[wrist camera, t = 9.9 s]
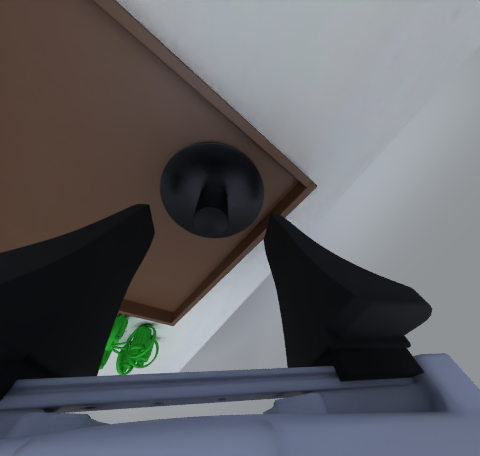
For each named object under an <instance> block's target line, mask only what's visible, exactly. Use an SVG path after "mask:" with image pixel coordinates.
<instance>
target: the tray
mask: <svg viewBox="0 0 480 456" xmlns="http://www.w3.org/2000/svg"><path fill="white" fill-rule="evenodd" d="M205 141H214V142H221V143H225V144H228V145H231V146H233V147H235V148H237V149H239V150H240V151H242V152H243V153H244V154H246V155H247V156H248V157H249V158H250V159H251V161H252V162H253V163H254V164H255V166H256V167H257V169H258V171H259V173H260V175H261V178H262V181H263V185H264V201H263V205H262V208H261V210H260V213H259V214H258V216H257V218H256V219H255V220H254V222H253V223H252V224H251V225H250V226H249V227H247V228H246V229H245V230H243V231H241V232H240V233H237V234H235V235H232V236H229V237H224V238H206V237H201V236H198V235H195V234H192V233H190V232H188V231H186V230H185V229H183V228H182V227H180V226H179V225H178V224H177V223H176V222H174V220H173V219H172V218H171V217H170V216H169V214H168V213H167V211H166V209H165V207H164V205H163V202H162V199H161V195H160V180H161V175H162V172H163V170H164V168H165V166H166V164H167V163H168V161H169V160H170V159H171V158H172V157H173V156H174V155H175V154H176V153H177V152H178V151H180V150H181V149H183V148H184V147H186V146H189V145H191V144H194V143H198V142H205ZM316 187H317V185H316V184H315V183H314V182H313V181H312V180H311V179H310V178H308V177H307V176H306V175H305V174H304V173H303V172H302V171H301V170H300V169H299V168H298V167H296V166H295V165H294V164H293V163H292V162H291V161H290V160H289V159H288V158H287V157H286V156H284V155H283V154H282V153H281V152H280V151H279V150H278V149H277V148H276V147H275V146H274V145H273V144H271V143H270V142H269V141H268V140H267V139H266V138H265V137H264V136H263V135H262V134H261V133H259V132H258V131H257V130H256V129H255V128H254V127H253V126H252V125H251V124H250V123H249V122H247V121H246V120H245V119H244V118H243V117H242V116H241V115H240V114H239V113H238V112H237V111H235V110H234V109H233V108H232V107H231V106H230V105H229V104H228V103H227V102H226V101H225V100H223V99H222V98H221V97H220V96H219V95H218V94H217V93H216V92H215V91H214V90H213V89H211V88H210V87H209V86H208V85H207V84H206V83H205V82H204V81H203V80H202V79H201V78H199V77H198V76H197V75H196V74H195V73H194V72H193V71H192V70H191V69H190V68H189V67H187V66H186V65H185V64H184V63H183V62H182V61H181V60H180V59H179V58H178V57H177V56H175V55H174V54H173V53H172V52H171V51H170V50H169V49H168V48H167V47H166V46H165V45H164V44H162V43H161V42H160V41H159V40H158V39H157V38H156V37H155V36H154V35H153V34H152V33H150V32H149V31H148V30H147V29H146V28H145V27H144V26H143V25H142V24H141V23H140V22H138V21H137V20H136V19H135V18H134V17H133V16H132V15H131V14H130V13H129V12H128V11H126V10H125V9H124V8H123V7H122V6H121V5H120V4H119V3H118V2H117V1H116V0H0V253H1V252H5V251H9V250H13V249H17V248H20V247H24V246H27V245H31V244H34V243H38V242H41V241H45V240H48V239H52V238H55V237H58V236H61V235H64V234H66V233H69V232H72V231H75V230H78V229H80V228H83V227H85V226H87V225H90V224H92V223H95V222H97V221H99V220H102V219H104V218H106V217H108V216H111V215H113V214H115V213H117V212H119V211H122V210H124V209H126V208H128V207H130V206H133V205H136V204H149V205H150V210H151V215H152V220H153V224H154V229H155V235H154V238H153V241H152V243H151V246H150V248H149V250H148V252H147V254H146V256H145V257H144V259H143V261H142V263H141V265H140V266H139V268H138V270H137V272H136V274H135V275H134V277H133V279H132V281H131V283H130V285H129V287H128V290H127V292H126V294H125V297H124V299H123V302H122V304H121V307H120V309H119V312H118V313H120V314H125V315H129V316H133V317H137V318H141V319H145V320H150V321H154V322H158V323H162V324H166V325H171V326H174V325H175V324H176V323H177V322H178V321H179V320H180V319H181V318H182V317H183V316H184V315H185V314H186V313H187V312H188V311H189V310H190V309H191V308H192V307H193V306H195V305H196V304H197V303H198V302H199V301H200V300H201V299H202V298H203V297H204V296H205V295H206V294H207V293H208V292H209V291H210V290H211V289H212V288H213V287H214V286H215V285H216V284H217V283H218V282H219V281H220V280H221V279H222V278H223V277H224V276H225V275H226V274H228V273H229V272H230V271H231V270H232V269H233V268H234V267H235V266H236V265H237V264H238V263H239V262H240V261H241V260H242V259H243V258H244V257H245V256H246V255H247V254H248V253H249V252H250V251H251V250H252V249H253V248H254V247H255V246H256V245H257V244H258V243H260V242H261V241H262V240H263V239H264V237H265V233H266V229H267V225H268V222H269V218H270V214H277V215H281V216H283V217H284V218H285V217H286V216H287V215H288V214H289V213H290V212H291V211H293V210H294V209H295V208H296V207H297V206H298V205H299V204H300V203H301V202H302V201H303V200H304V199H305V198H306V197H307V196H308V195H309V194H310V193H311V192H312V191H313V190H314V189H315V188H316Z"/></svg>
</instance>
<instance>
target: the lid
mask: <svg viewBox="0 0 480 456" xmlns="http://www.w3.org/2000/svg"><path fill="white" fill-rule="evenodd" d="M160 195H161V199H162V202H163V205H164V207H165V209H166V211H167V213H168V214H169V216H170V217H171V218H172V219H173V220H174V222H176V223H177V224H178V225H179V226H180V227H182V228H183V229H185V230H186V231H188V232H190V233H192V234H195V235H198V236H201V237H206V238H224V237H229V236H232V235H235V234H237V233H240V232H241V231H243V230H245V229H246V228H247V227H249V226H250V225H251V224H252V223H253V222H254V220H255V219H256V218H257V216H258V214H259V213H260V210H261V208H262V205H263V201H264V185H263V181H262V178H261V175H260V173H259V171H258V169H257V167H256V166H255V164H254V163H253V162H252V161H251V159H250V158H249V157H248V156H247V155H246V154H244V153H243V152H242V151H240V150H239V149H237V148H235V147H233V146H231V145H228V144H225V143H221V142H214V141H205V142H198V143H194V144H191V145H189V146H186V147H184V148H183V149H181V150H180V151H178V152H177V153H176V154H175V155H174V156H173V157H172V158H171V159H170V160H169V161H168V163H167V164H166V166H165V168H164V170H163V172H162V175H161V180H160Z"/></svg>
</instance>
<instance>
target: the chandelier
mask: <svg viewBox="0 0 480 456" xmlns="http://www.w3.org/2000/svg"><path fill="white" fill-rule="evenodd" d="M124 317H125V314H121V316H120V317H116V320H115V322H114V325H113V328H112V331H111V334H110V337H109V339H108V342H107V345H106V348H105V352H104V355H103V358H102V361H101V364H100V367H99V369H102V368H103V366H104V365H105V364H106V362H107V360H108V358H109V356H110V354H111V352H112V351H114V352H116V353H117V354H119V355H118V358H117V362H116V368H117V372H118V373H119V374H120V375H126V374H128V373H129V372H130V371H131V370H132V369H133V367H135V368H144V367H147V366H148V365H150V364H151V363H152V362H153V361H154V360H155V358H156V356H157V354H158V349H159V347H158V343H157V341H156V340H155V338H156V330H155V328H154V327H153V326H151V325H143V326H141V327H139V328H137V329H136V330H135V331H134V332H133V333H132V334H131V335H130V337H129V338H128V340H127V342H123V343H118V341H119V339H120V338H121V337H122V336H123V333H124V331H125V329H126V327H127V324H128V320H127V319H126V318H124ZM147 327H151V328H152V329H153V337H150V336H151V329H150V328H147ZM134 335H135V336H134ZM133 336H134V338H133ZM132 338H133V341H132V343H130V341H131V339H132ZM116 343H117V344H116ZM154 343H155V344H156V355H155V357H154V359H153V360H152V361H151V362H150V363H149V364H147V365H144V366H142V365H143V364H144V362H147V361H148V358H149V357H150V355H151V351H152V348H153V345H154ZM122 344H126V345H125V346H124V347H117V346H116V345H122ZM129 345H131V346H129ZM130 347H131V348H130ZM113 348H117V349H121V351H120V352H118V351H117V350H115V349H113ZM136 362H137V364H135V363H136ZM129 368H130V369H129ZM127 369H129V370H128V371H127V372H126V370H127ZM123 372H126V373H123Z"/></svg>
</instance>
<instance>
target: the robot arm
mask: <svg viewBox="0 0 480 456" xmlns="http://www.w3.org/2000/svg"><path fill="white" fill-rule="evenodd" d="M154 235H155V229H154V224H153V220H152V215H151V210H150V205H149V204H136V205H133V206H130V207H128V208H126V209H124V210H122V211H119V212H117V213H115V214H113V215H111V216H108V217H106V218H104V219H102V220H99V221H97V222H95V223H92V224H90V225H87V226H85V227H83V228H80V229H78V230H75V231H72V232H69V233H66V234H64V235H61V236H58V237H55V238H52V239H48V240H45V241H41V242H38V243H34V244H31V245H27V246H24V247H20V248H17V249H13V250H9V251H5V252H1V253H0V456H480V390H479V389H478V388H477V386H476V385H475V384H474V383H473V382H472V381H471V380H470V378H469V377H468V376H467V375H466V374H465V373H464V372H463V371H462V370H461V368H460V367H459V366H458V365H457V364H456V363H455V362H454V361H453V359H451V357H450V356H449V355H447V354H444V353H442V354H421V355H416V356H412V355H411V353H410V352H409V351H408V349H407V348H409V347H410V346H411V345H410V342H409V341H408V340H407V338H406V337H405V336H404V335H406V334H407V333H408V332H410V331H412V330H413V329H415V328H416V327H418V326H419V325H421V324H422V323H424V322H425V321H426V320H427V319H428V318H429V317H430V316H431V312H432V308H431V306H430V305H429V304H428V303H427V302H426V301H425V300H424V299H423V298H422V297H421V296H420V295H419V294H418V293H417V292H416V291H415V290H414V289H412V288H411V287H408V286H405V285H403V284H400V283H397V282H395V281H392V280H389V279H387V278H384V277H381V276H379V275H377V274H374V273H372V272H370V271H368V270H365V269H363V268H361V267H359V266H357V265H355V264H353V263H351V262H349V261H347V260H345V259H343V258H341V257H339V256H337V255H335V254H334V253H332V252H330V251H329V250H327V249H325V248H324V247H322V246H320V245H319V244H318V243H316V242H314V241H313V240H312V239H311V238H309V237H308V236H307V235H305V234H304V233H303V232H301V231H300V230H299V229H298V228H296V227H295V226H294V225H293V224H291V223H290V222H289V221H288V220H286V219H285V218H284V217H283V216H281V215H277V214H270V218H269V222H268V225H267V229H266V233H265V237H264V245H265V251H266V255H267V259H268V262H269V265H270V269H271V272H272V275H273V279H274V282H275V286H276V290H277V295H278V300H279V306H280V312H281V318H282V324H283V332H284V339H285V348H286V356H287V365H288V368H277V369H252V370H229V371H207V372H184V373H160V374H137V375H114V376H97V374H98V371H99V367H100V364H101V361H102V358H103V355H104V352H105V348H106V345H107V342H108V339H109V337H110V334H111V331H112V328H113V325H114V322H115V320H116V317H117V314H118V312H119V309H120V307H121V304H122V302H123V299H124V297H125V294H126V292H127V290H128V287H129V285H130V283H131V281H132V279H133V277H134V275H135V274H136V272H137V270H138V268H139V266H140V265H141V263H142V261H143V259H144V257H145V256H146V254H147V252H148V250H149V248H150V246H151V243H152V241H153V238H154ZM275 398H283V399H279V400H275V402H274V406H273V407H272V408H271V409H269V410H267V411H266V412H264V413H263V414H256V415H255V414H252V415H219V416H201V417H186V418H185V417H184V418H172V419H159V420H148V421H138V422H128V423H119V424H107V423H102V422H98V421H96V420H93V419H91V417H90V416H89V415H88V414H68V413H66V412H81V411H96V410H111V409H126V408H141V407H155V406H169V405H185V404H199V403H215V402H230V401H244V400H260V399H275Z"/></svg>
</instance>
